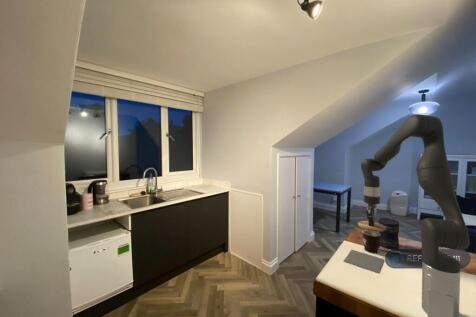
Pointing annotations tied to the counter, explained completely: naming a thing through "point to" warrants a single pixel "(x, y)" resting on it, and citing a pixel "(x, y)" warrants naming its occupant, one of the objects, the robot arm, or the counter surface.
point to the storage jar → (389, 234)
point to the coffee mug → (371, 241)
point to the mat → (364, 261)
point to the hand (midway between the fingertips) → (371, 224)
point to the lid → (366, 226)
